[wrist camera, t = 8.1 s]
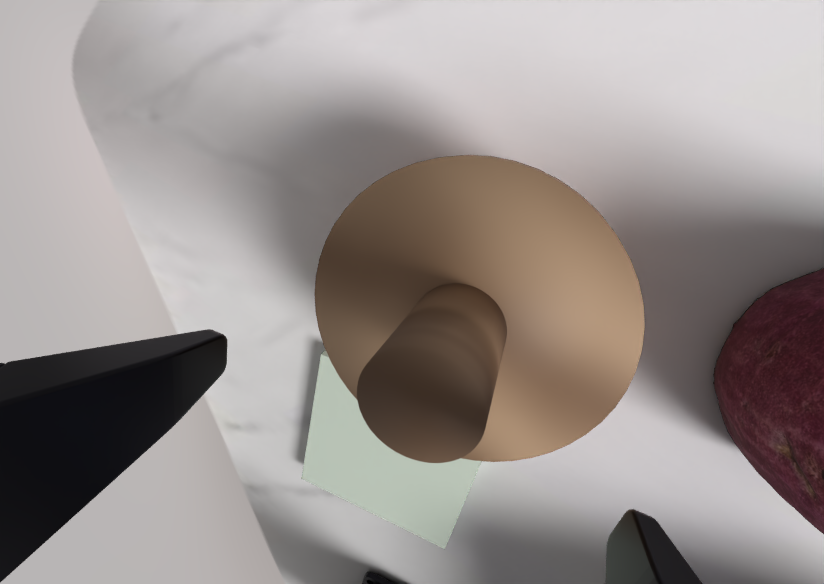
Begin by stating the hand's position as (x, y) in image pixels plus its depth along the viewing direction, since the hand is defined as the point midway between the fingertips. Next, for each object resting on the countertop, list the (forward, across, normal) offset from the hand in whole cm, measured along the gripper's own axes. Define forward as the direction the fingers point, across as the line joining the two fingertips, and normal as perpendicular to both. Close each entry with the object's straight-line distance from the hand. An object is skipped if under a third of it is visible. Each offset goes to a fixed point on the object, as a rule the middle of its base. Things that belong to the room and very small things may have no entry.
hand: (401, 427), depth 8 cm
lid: (+6, 0, 0) cm, 6 cm away
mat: (+11, +2, +12) cm, 17 cm away
